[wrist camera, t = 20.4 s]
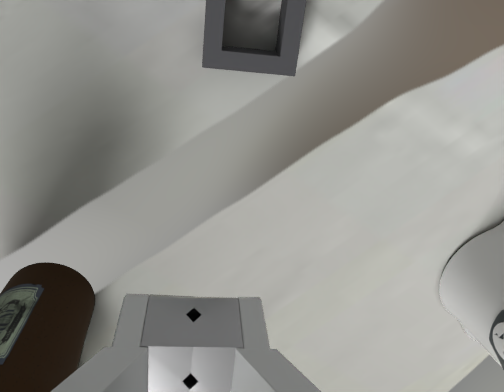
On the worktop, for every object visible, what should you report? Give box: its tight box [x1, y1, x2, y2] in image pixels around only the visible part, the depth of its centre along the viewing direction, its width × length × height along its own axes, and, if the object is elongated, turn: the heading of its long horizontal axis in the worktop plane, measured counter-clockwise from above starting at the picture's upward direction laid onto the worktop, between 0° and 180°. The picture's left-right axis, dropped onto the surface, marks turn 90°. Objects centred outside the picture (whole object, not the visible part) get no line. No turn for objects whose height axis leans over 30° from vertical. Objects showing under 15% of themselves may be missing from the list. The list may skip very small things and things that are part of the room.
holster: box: [202, 0, 306, 76], centre depth 38 cm, size 8×8×3 cm
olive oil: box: [0, 263, 95, 392], centre depth 39 cm, size 11×11×25 cm
